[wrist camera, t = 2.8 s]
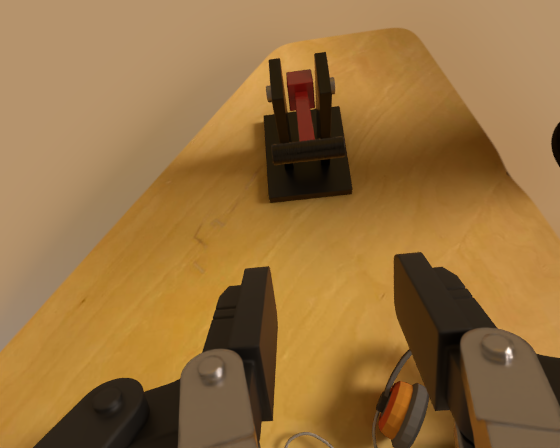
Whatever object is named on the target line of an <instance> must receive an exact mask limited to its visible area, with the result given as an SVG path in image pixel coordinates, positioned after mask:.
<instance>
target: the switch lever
mask: <svg viewBox="0 0 560 448" xmlns="http://www.w3.org/2000/svg"><path fill="white" fill-rule="evenodd" d="M286 75H287V88H288V96H289V105H290V111H294V110H296V112H297V122H298V132H299V141H297V142H289V143H281V144H273V145H272V157H273V163H274V165H281V164H289V163H298V162H306V161H315V160H324V159H332V158H341V157H345V154H346V149H345V140H344V137H343V136H339V137H331V138H322V139H315V136H314V130H313V124H312V117H311V111H310V108H315V102H314V87H313V79H312V74H311V70H310V69H309V70H302V71H294V72H287V73H286Z"/></svg>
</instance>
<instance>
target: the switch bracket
mask: <svg viewBox="0 0 560 448" xmlns="http://www.w3.org/2000/svg"><path fill="white" fill-rule="evenodd" d="M314 58H315V90H316V109H313V110H310V111H311V117H312V124H313V130H314V136H315V139H322V138H331V137H339V136H343V137H344V133H343V126H342V120H341V113H340V107H339V106H336V107H331V104H332V94H335V81H334V78H333V77H332V78H330V77H329V70H328V63H327V56H326V52H322V53H315V54H314ZM269 71H270V85H271V86H266V93H267V100H268V102H272V104H273V110H274V114H273V115H265V116H264V128H265V144H266V160H267V176H268V192H269V200H270V203H273V202H282V201H291V200H301V199H310V198H319V197H328V196H338V195H347V194H352V184H351V177H350V171H349V165H348V158H347V152H346V154H345V157H341V158H332V159H324V160H315V161H306V162H298V163H289V164H281V165H274V163H273V157H272V145H273V144H281V143H289V142H297V141H299V132H298V122H297V112H289V113H288V112H287V105H286V98H285V91H284V84H283V76H282V69H281V62H280V58H279V59H271V60H269ZM344 140H345V139H344ZM345 149H346V145H345Z"/></svg>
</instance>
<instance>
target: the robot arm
mask: <svg viewBox="0 0 560 448" xmlns="http://www.w3.org/2000/svg"><path fill="white" fill-rule="evenodd" d="M394 304H395V310H396V315H397V319H398V321H399V324H400V326H401V329H402V331H403V334H404V336H405V338H406V341H407V343H408V346H409V348H410V351H411V353H412V355H413V358H414V360H415V363H416V365H417V368H418V370H419V373H420V375H421V377H422V380H423V382H424V385H425V387H426V390H427V392H428V394H429V397H430V399H431V402H432V404H433V407H434V409H435V411H441V410H450V411H451V413H452V415H453V418H454V441H455V447H456V448H560V358H555V357H549V356H543V355H539V354H536V353H535V351H534V350H533V348H532V347H531V346H530V345H529V344H528V343H527V342H526V341H525V340H524V339H522V338H521V337H519V336H517V335H515V334H513V333H510V332H508V331H505V330H501V329H498V328H497V327H496V326H495V325H494V323H493V322H492V321H491V319H490V318H489V317H488V315H487V314H486V313H485V312H484V310H483V309H482V308H481V306H480V305H479V304H478V302H477V301H476V300H475V299H474V298H472V295H471V293H470V292H469V291H468V289H465V286H464V284H463V283H462V282H461V280H460V279H459V278H458V276H457V275H455V274H453V273H452V272H450V271H448V270H447V269H445V268H443V267H435V268H432V267H431V265H430V264H429V262H428V261H427V259H426V258H425V256H424V255H423V254H422V253H421V252H417V253H407V254H396V255H395V256H394ZM277 332H278V322H277V310H276V304H275V297H274V291H273V284H272V278H271V272H270V268H269V266H268V267H257V268H247V269H245V271H244V275H243V279H242V284H241V285H237V286H229V287H228V288H227V289H226V290H225V291H224V292H223V293H222V294H221V296H220V297H219V300H218V303H217V306H216V310H215V313H214V316H213V320H212V323H211V326H210V329H209V332H208V335H207V339H206V342H205V345H204V348H203V352H202V353H201V354H199V355H197V356H196V357H194V358H193V359H191V360H190V361H189V362H188V363H187V365H186V366H185V367H184V369H183V371H182V373H181V378H180V379H179V380H177V381H175V382H172V383H170V384H167V385H164V386H161V387H158V388H155V389H152V390H149V391H146V392H144V390H143V388H142V385H141V384H140V383H139V382H138V381H136V380H134V379H131V378H119V379H114V380H111V381H108V382H106V383H103V384H101V385H100V386H98V387H96V388H95V389H93V390H92V391H91V392H89V393H88V394H87V395H86V396H85V397H84V398H83V399H82V400H81V401H80V402H79V403H78V404H77V405H76V406H75V407H74V408H73V409H72V410H71V411H70V412H69V413H68V414H67V415H66V416H65V417H63V418H62V419H61V420H60V421H59V422H58V423H57V424H56V425H55V426H54V427H53V428H52V429H51V430H50V431H49V432H48V433H47V434H46V435H45V436H44V437H43V438H42V439H41V440H40V441H39V442H38V443H37V444H36V445H35V446H34V447H33V448H261V447H260V443H259V441H260V433H261V422H262V421H273V406H274V388H275V369H276V350H277Z"/></svg>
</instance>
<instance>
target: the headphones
mask: <svg viewBox="0 0 560 448" xmlns="http://www.w3.org/2000/svg"><path fill="white" fill-rule="evenodd" d="M411 355H412V353H411V351H410V349H409V350H408V351H407V352H406V353H405V354H404V355H403V356H402V358H401V359H400V361H399V362H398V363H397V365H396V367H395V369H394V370H393V372H392V374H391V376H390V378H389V380H388V383H387V385H386V388H385V391H384V392H383V393H382V394H381V396H380V399H379V401H378V404H377V407H376V410H377V412H376V415H375V418H374V422H373V428H372V437H373V444H374V448H377V445H376V438H375V426H376V422H377V418H378V415H379V412H381V413H380V417H379V422H378V425H379V429H380V431H381V432H382V433H383V434H384V435H385V436H386V437H388V438H390V439H391V442H392V445H393V447H394V448H410V447H411V446H412V444H413V443H414V441H415V439H416V437H417V435H418V433H419V431H420V428H421V426H422V423H423V421H424V418H425V414H426V410H427V407H428V402H429V394H428V392H427V390H426V387H424V386H422V385H420V384H418V383H416V384H413V385H410V384H408V383H406V382H402V381H398V382H396V383H395V384H394V385H393V383H394V381H395V379H396V377H397V375H398V373H399V372H400V370H401V368H402V367H403V365H404V364H405V362H406V361H407V360H408V359H409V358H410V356H411ZM392 385H393V386H392ZM391 387H392V388H391ZM302 435H310V436H313V437H315V438H317V439H319V440H321V441H322V442H324V443H325V444H326V445H328V446H329V447H330V448H334V447H333V446H332V445H331V444H329V443H328V442H327V441H326V440H324V439H323V438H321V437H320V436H318V435H316V434H313V433H310V432H302V433H298V434H296V435H294V436H292V437H291V438H290V439H289V440H288V441H287V443H286V445H285V448H287V447H288V445H289V443H290V442H291V441H292V440H293V439H294V438H296V437H298V436H302Z"/></svg>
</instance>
